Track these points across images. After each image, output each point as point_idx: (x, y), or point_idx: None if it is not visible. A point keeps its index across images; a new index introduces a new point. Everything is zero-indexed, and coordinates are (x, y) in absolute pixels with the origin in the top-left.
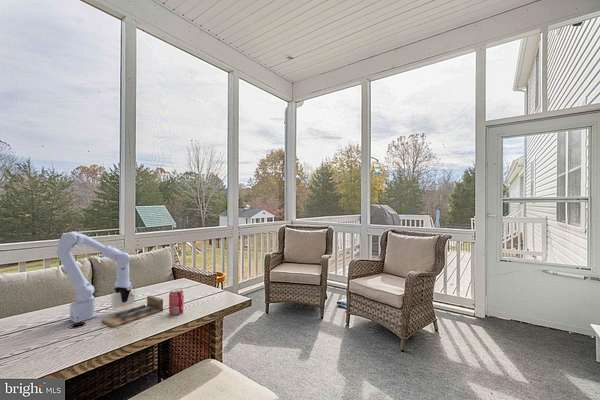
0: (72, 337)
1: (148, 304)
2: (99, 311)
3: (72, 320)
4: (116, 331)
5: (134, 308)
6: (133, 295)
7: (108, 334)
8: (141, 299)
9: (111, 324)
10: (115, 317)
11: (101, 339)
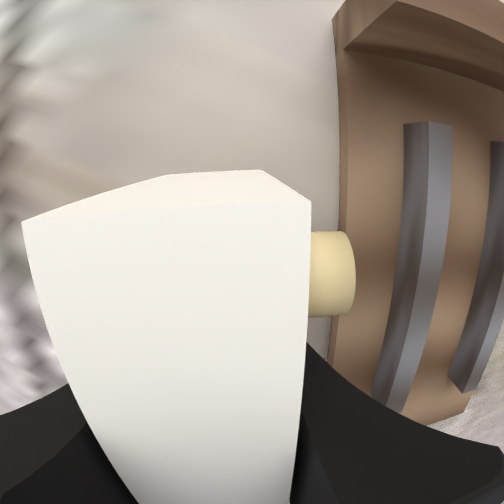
0: None
1: (383, 48)
2: (65, 377)
3: None
4: (492, 397)
5: (441, 264)
6: (334, 234)
7: (479, 421)
8: (28, 16)
9: (440, 419)
10: (369, 393)
11: (481, 436)
